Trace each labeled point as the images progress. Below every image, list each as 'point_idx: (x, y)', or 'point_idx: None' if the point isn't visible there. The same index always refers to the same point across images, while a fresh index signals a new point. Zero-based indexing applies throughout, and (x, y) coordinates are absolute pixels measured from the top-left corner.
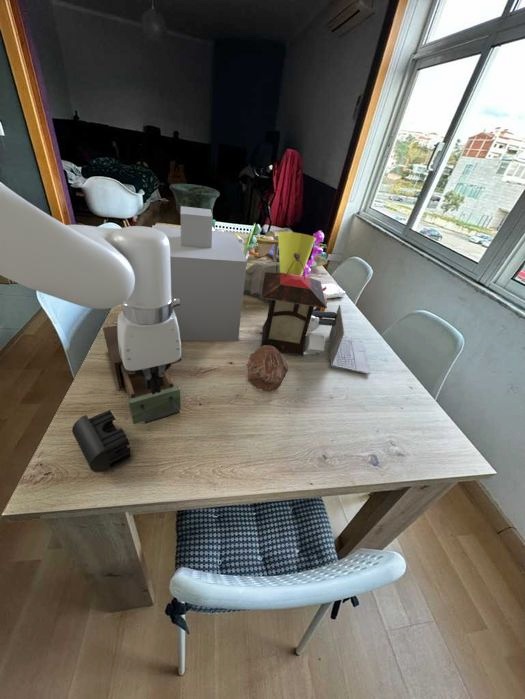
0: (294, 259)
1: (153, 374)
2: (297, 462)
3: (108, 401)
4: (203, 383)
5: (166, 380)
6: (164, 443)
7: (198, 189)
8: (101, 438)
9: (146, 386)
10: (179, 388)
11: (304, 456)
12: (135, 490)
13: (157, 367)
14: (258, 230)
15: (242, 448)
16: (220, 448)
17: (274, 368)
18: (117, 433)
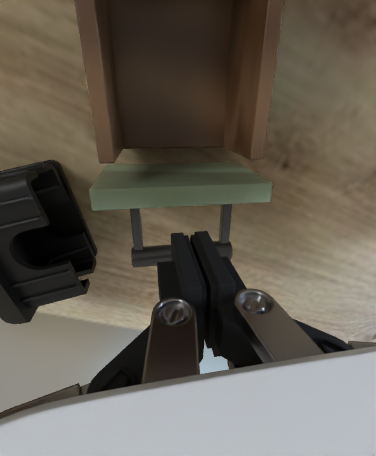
0: None
1: (208, 310)
2: (338, 333)
3: (33, 24)
4: (339, 82)
5: (248, 108)
6: (168, 243)
7: None
8: (13, 280)
9: (158, 281)
10: (269, 199)
11: (354, 329)
12: (100, 309)
13: (249, 346)
14: None
15: (289, 294)
16: (258, 284)
17: None
18: (56, 277)
